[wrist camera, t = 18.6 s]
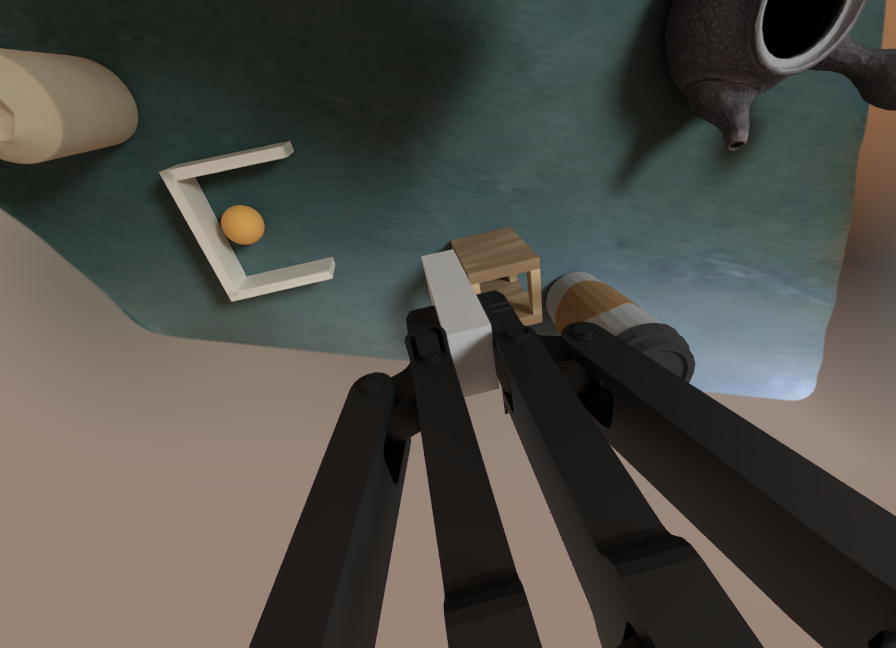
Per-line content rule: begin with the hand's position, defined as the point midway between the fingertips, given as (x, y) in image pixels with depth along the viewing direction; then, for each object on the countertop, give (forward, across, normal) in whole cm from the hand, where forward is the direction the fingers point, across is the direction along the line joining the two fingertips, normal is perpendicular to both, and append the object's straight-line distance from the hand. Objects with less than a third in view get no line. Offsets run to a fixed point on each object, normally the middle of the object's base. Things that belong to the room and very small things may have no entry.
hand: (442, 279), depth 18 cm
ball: (+19, -16, 0) cm, 24 cm away
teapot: (+20, +31, +5) cm, 37 cm away
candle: (+20, -21, +10) cm, 30 cm away
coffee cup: (+20, +15, -15) cm, 29 cm away
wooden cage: (+19, +6, -9) cm, 22 cm away
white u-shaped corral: (+19, -13, 0) cm, 23 cm away
